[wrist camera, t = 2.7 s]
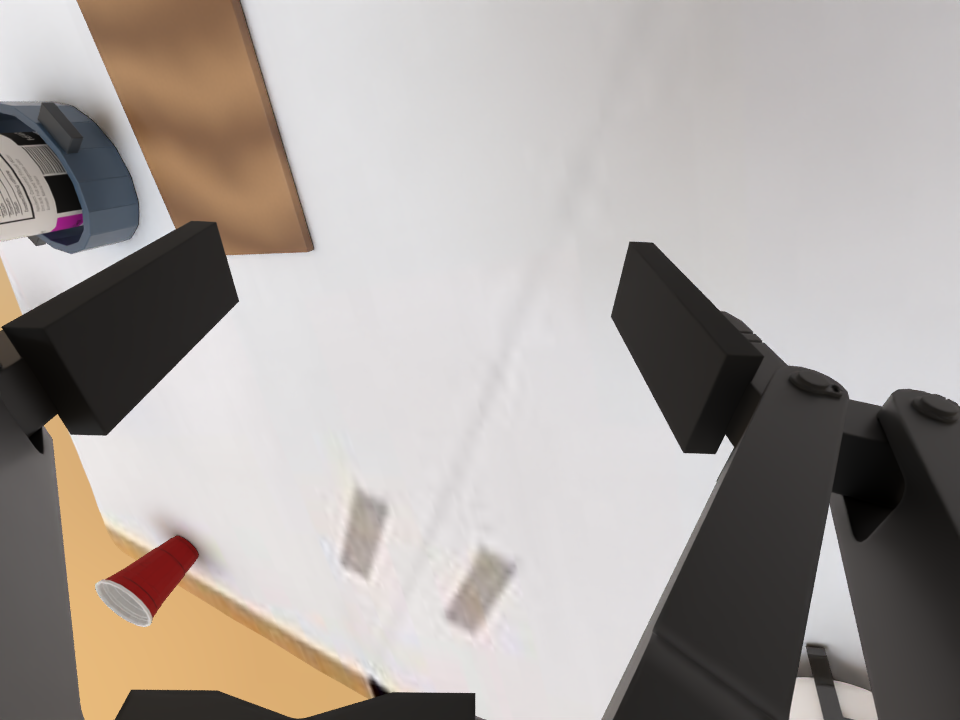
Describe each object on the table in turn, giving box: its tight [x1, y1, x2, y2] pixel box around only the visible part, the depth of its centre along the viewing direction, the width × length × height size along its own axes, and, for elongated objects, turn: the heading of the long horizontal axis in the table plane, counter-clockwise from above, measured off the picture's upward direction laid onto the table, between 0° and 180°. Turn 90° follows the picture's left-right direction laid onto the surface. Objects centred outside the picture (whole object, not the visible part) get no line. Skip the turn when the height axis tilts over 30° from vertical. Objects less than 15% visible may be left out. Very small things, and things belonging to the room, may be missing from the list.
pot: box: [0, 102, 139, 254], centre depth 41 cm, size 13×17×4 cm
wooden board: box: [77, 0, 314, 255], centre depth 35 cm, size 20×15×1 cm
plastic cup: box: [95, 536, 199, 627], centre depth 75 cm, size 11×11×12 cm
